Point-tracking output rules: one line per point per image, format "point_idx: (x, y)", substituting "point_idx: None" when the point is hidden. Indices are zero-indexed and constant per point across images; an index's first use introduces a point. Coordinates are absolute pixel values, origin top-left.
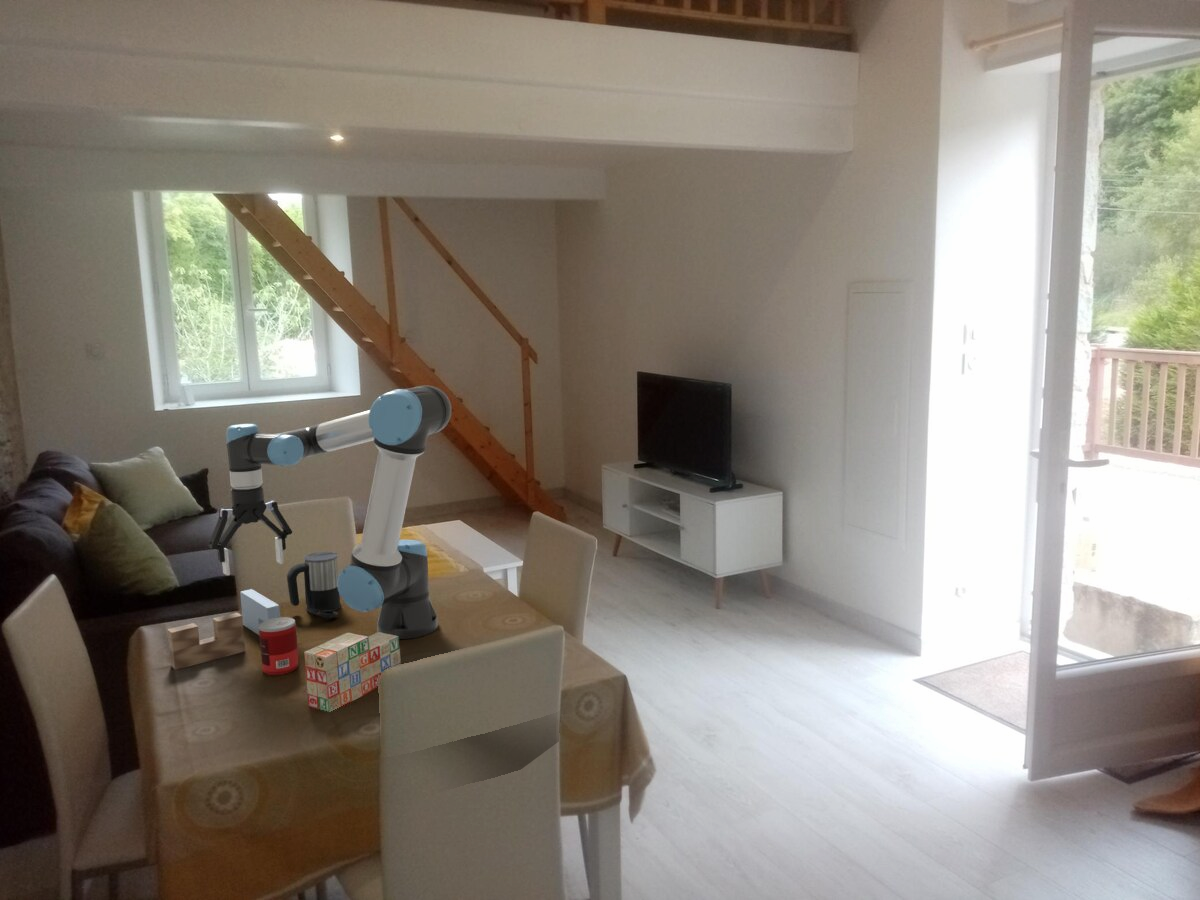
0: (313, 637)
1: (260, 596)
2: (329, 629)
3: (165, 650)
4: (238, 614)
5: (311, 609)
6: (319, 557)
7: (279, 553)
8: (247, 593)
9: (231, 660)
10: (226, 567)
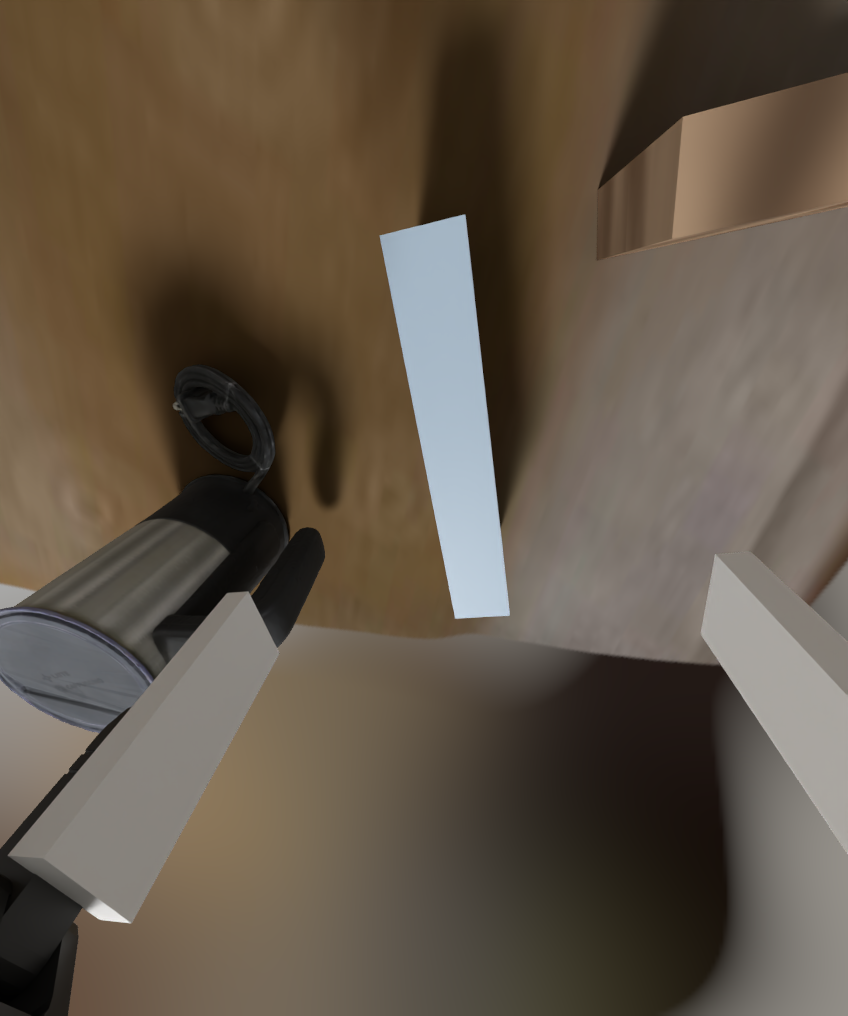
0: (284, 199)
1: (445, 492)
2: (215, 274)
3: (839, 431)
4: (689, 174)
5: (257, 447)
6: (73, 667)
7: (197, 674)
8: (489, 573)
9: (708, 66)
10: (812, 612)
